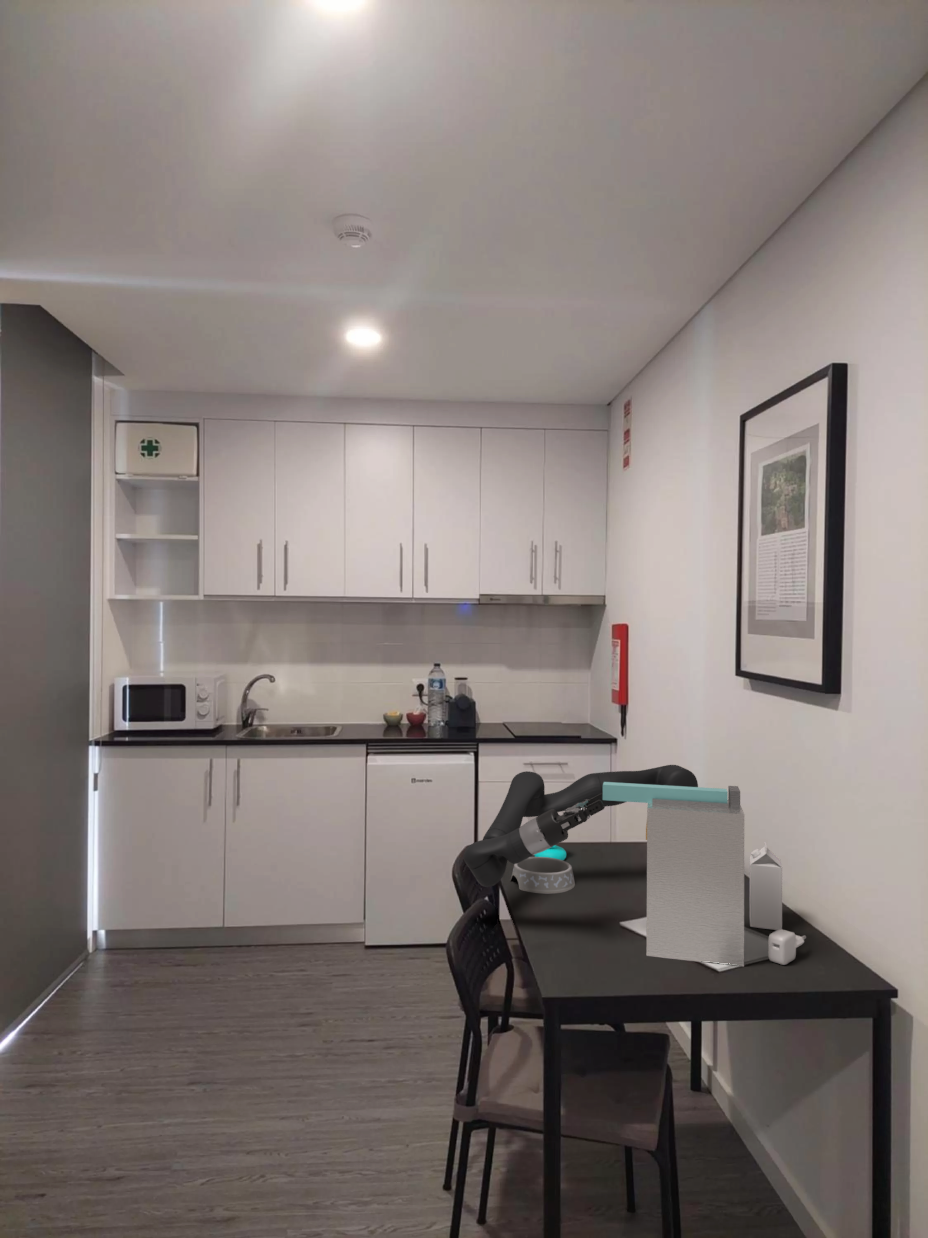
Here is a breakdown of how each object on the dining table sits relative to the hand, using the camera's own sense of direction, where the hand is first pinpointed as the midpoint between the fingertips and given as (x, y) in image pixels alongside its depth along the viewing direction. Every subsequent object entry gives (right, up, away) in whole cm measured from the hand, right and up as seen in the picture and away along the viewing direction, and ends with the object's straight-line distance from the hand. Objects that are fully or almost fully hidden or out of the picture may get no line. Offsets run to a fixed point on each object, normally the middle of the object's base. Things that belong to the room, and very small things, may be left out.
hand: (604, 800), depth 178 cm
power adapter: (+38, -32, -9) cm, 51 cm away
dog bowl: (-10, -33, +40) cm, 53 cm away
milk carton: (+41, -33, +10) cm, 53 cm away
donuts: (-5, -33, +63) cm, 71 cm away
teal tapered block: (+13, 0, -3) cm, 13 cm away
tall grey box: (+19, -32, -5) cm, 37 cm away
